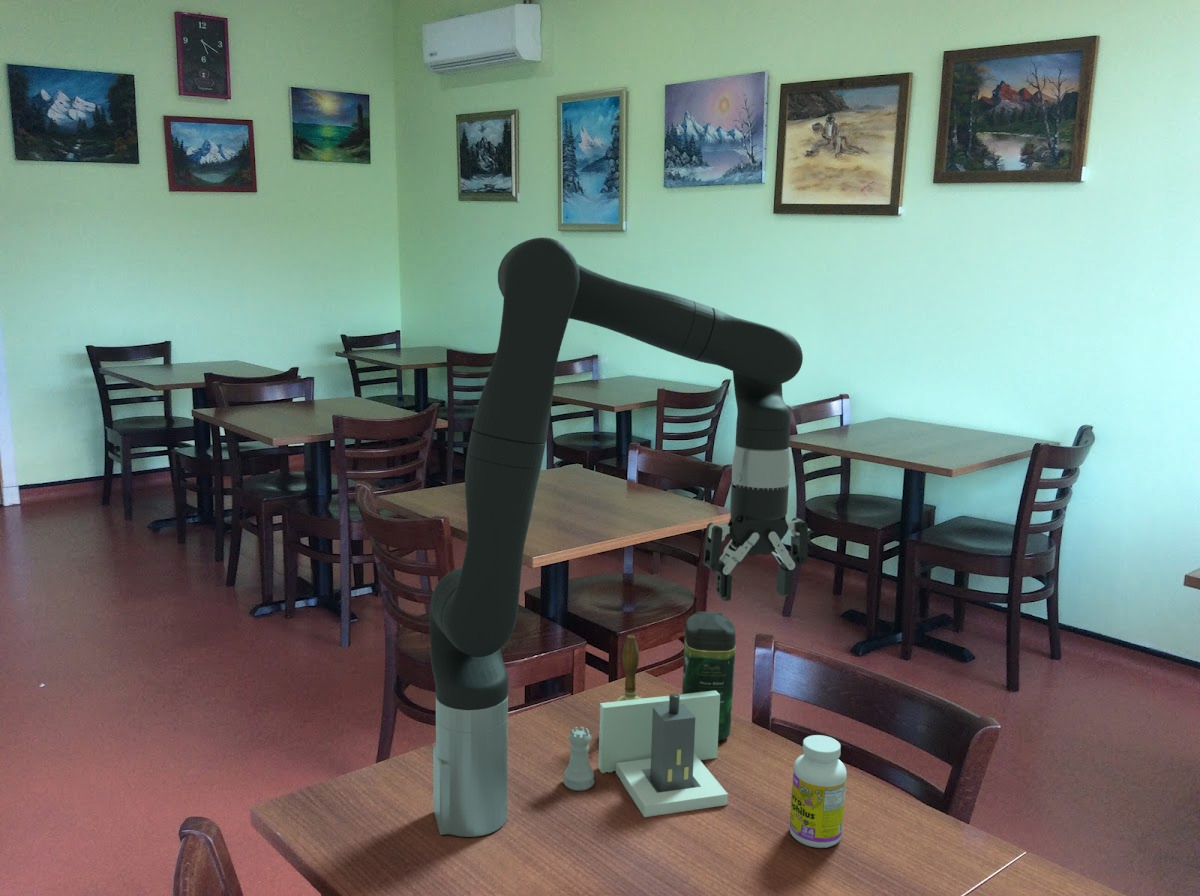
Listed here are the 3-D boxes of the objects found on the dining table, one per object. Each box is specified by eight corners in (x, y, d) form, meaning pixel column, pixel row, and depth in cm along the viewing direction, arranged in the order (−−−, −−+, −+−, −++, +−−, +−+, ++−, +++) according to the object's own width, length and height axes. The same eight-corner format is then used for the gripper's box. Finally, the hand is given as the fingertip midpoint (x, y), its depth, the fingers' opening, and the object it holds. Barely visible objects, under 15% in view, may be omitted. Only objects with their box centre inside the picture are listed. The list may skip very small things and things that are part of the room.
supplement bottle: (778, 827, 130) (784, 735, 128) (821, 817, 133) (827, 727, 130) (808, 855, 124) (815, 759, 122) (852, 844, 127) (859, 750, 124)
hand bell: (614, 749, 150) (617, 648, 147) (595, 725, 158) (597, 629, 155) (664, 740, 153) (668, 642, 150) (643, 718, 161) (646, 624, 158)
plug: (662, 796, 136) (665, 705, 134) (650, 780, 140) (653, 690, 138) (692, 792, 137) (696, 701, 135) (679, 775, 142) (683, 687, 139)
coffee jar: (733, 745, 152) (739, 629, 149) (681, 743, 152) (686, 628, 149) (727, 717, 162) (733, 608, 158) (679, 715, 162) (683, 606, 159)
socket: (629, 819, 131) (632, 748, 129) (598, 767, 144) (600, 703, 142) (754, 800, 136) (758, 732, 135) (712, 753, 150) (715, 690, 148)
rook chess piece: (557, 788, 138) (558, 734, 137) (570, 773, 143) (571, 721, 141) (587, 795, 137) (588, 740, 135) (599, 780, 141) (600, 727, 139)
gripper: (794, 472, 137) (787, 584, 140) (699, 475, 133) (694, 592, 136) (822, 483, 130) (814, 601, 133) (722, 488, 126) (716, 610, 129)
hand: (753, 596), depth 135 cm, fingers open, 8 cm apart
